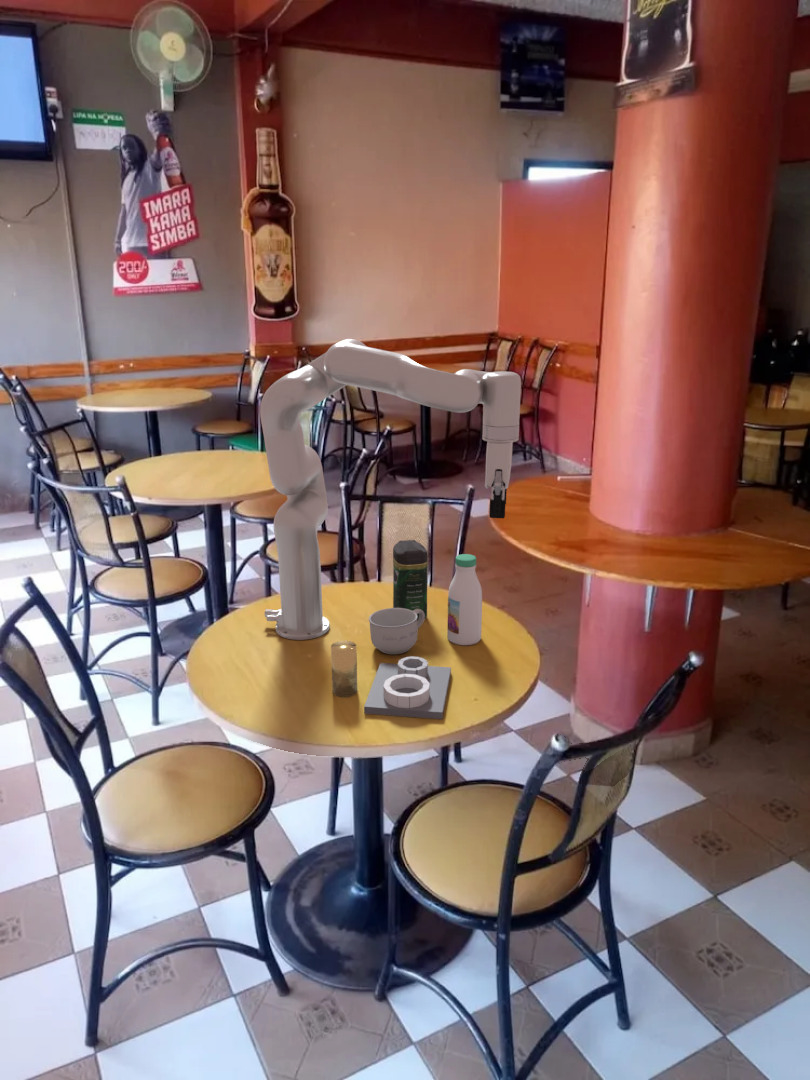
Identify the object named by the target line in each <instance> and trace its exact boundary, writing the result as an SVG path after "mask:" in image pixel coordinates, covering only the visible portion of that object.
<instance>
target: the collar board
mask: <svg viewBox="0 0 810 1080" xmlns="http://www.w3.org/2000/svg"><path fill="white" fill-rule="evenodd" d="M451 675H452V667H450V666H435V665H432V666H431V665H429V662H428V660H427V659H425V658H424V657H420V656H414V655H413V656H411V655H409V656H406V657H402V658H400V659H398V662H397V663H391V662H389V663H388V662H380V663H379V666H378V669H377V670H376V673H375V676H374V679H373V682H372V685H371V687H370V690H369V693H368V695H367V698H366V701H365V703H364V705H363V708H364V709H363V710H364V711H363V713H364V714H365V715H379V716H380V715H382V716H393V717H408V718H419V719H421V718H422V719H433V720H443V718H444V717H443V716H444V711H445V706H446V701H447V696H448V691H449V686H450V680H451Z"/></svg>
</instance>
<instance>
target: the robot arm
mask: <svg viewBox="0 0 810 1080" xmlns="http://www.w3.org/2000/svg"><path fill="white" fill-rule="evenodd" d="M521 379H522V378H521V376H520V375H519V374H518V373H516V372H514V371H507V370H506V371H503V370H501V371H491V372H490V371H482V370H476V369H470V368H469V369H468V368H463V369H460V370H458V371H456V372H454V373H452V372H449V371H442V370H438V369H434V368H430V367H427V366H424V365H422V364H419V363H417V362H416V361H414V359H412V358H410V357H409V356H407V355H406V354H403V353H399V352H393V351H389V350H384V349H381V348H375V347H369V346H367V345H366V344H364V342H362V341H360V340H358V339H353V338H346V339H343V340H341V341H338V342H336V343H334V344H332V345H331V346H330V347H329V348H328V349H327V351H326V352H324V353H323V354H321V355H320V356H318V357H317V358H315V359H314V360H312V361H310V362H309V363H307V364H305V365H304V366H302V367H300V368H298V369H296V370H293V371H290V372H289V373H287V374H285V375H283V376H282V377H281V378H280V377H279V379H277V380H275V382H273V383H272V384H271V385H270V386H269V387H268V388H267V389H266V391H265V392H264V394H263V397H262V399H261V400H260V401H261V402H260V409H259V412H260V414H259V415H260V421H261V423H260V424H261V427H262V433H263V439H264V440H263V441H264V447H265V453H266V458H267V464H268V472H269V477H270V480H271V484H272V486H273V488H274V489H275V490H276V491H277V492H278V493H280V494H281V495H284V496H286V498H287V500H285V502H284V503H283V504H282V505H280V507H279V508H278V510H277V511H276V513H275V515H274V519H273V534H274V539H275V543H276V549H277V558H278V559H277V560H278V561H277V563H278V576H279V592H280V607H281V608H278V610H277V609H270V608H269V609H267V608H266V609H265V610H264V617H265V618H266V621H267V622H276V624H275V632H276V633H277V635H279V636H280V637H282V638H284V639H289V640H296V641H304V640H311V639H316V638H318V637H321V636H323V635H325V634H326V633H328V631H329V630H330V621H329V620H328V618H327V617H325V616H323V615H324V613H323V596H322V595H323V594H322V568H321V566H322V565H321V553H320V551H321V550H320V546H319V541H318V529H319V528H320V527H321V525H322V524H323V523H324V521H325V519H326V518H327V517H328V516H327V515H328V512H329V511H328V510H329V507H328V506H329V505H328V504H329V503H328V497H327V489H326V483H325V477H324V471H323V465H322V464H323V463H322V462H321V458H320V456H319V455H318V452H317V451H316V450H315V449H314V448H312V447H311V446H310V445H308V444H305V439H304V430H303V427H302V424H301V422H300V415H301V414H302V413H304V412H305V411H307V410H309V409H312V408H313V407H315V406H316V405H318V404H319V403H322V401H324V400H326V399H327V398H328V397H330V396H332V395H333V394H335V393H336V392H338V391H340V390H342V389H343V388H344V387H346V386H351V387H356V388H361V389H365V390H369V391H374V392H381V393H384V394H387V395H393V396H396V397H398V398H401V399H402V400H406V401H410V402H413V403H416V404H419V405H422V406H426V407H428V408H429V407H430V408H435V409H439V410H443V411H447V412H451V413H460V414H461V413H467V412H470V411H472V410H474V409H475V408H476V407H477V406H478V404H482V406H483V407H482V408H483V409H482V412H483V413H482V440H483V441H484V442H487V443H486V451H485V452H486V453H485V457H486V458H485V482H484V487H485V489H489V488H491V493H490V494H491V496H490V499H489V518H491V519H505V517H506V505H507V489H508V488H509V484H510V478H511V470H512V461H513V460H512V459H513V445H514V444H513V443H516V442H518V441H519V440H520V439H519V438H520V437H519V436H520V434H519V433H520V417H521V416H520V415H521V414H520V413H521V395H522V394H521V389H522V380H521Z"/></svg>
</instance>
